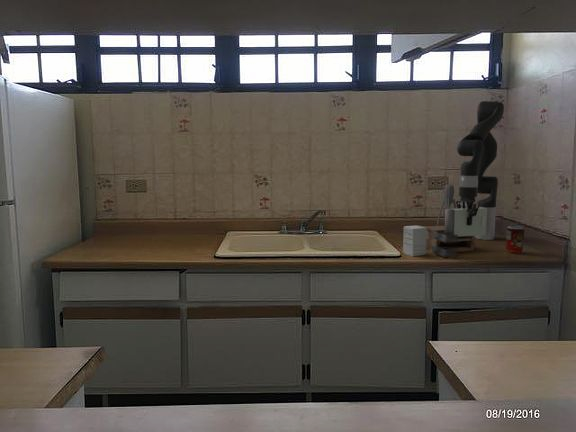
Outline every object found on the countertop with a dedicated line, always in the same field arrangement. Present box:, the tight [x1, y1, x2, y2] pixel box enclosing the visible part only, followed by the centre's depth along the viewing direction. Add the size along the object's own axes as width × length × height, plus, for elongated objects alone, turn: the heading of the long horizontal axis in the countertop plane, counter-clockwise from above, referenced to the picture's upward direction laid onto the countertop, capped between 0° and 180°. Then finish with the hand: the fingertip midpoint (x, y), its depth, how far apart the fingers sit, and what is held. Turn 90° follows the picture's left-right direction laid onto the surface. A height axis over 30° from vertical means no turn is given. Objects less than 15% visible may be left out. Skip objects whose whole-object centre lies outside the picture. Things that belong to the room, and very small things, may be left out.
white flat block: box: [444, 208, 487, 237], centre depth 198 cm, size 4×20×12 cm, turn 105°
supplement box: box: [402, 225, 427, 257], centre depth 201 cm, size 7×7×13 cm
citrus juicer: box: [436, 183, 457, 226], centre depth 225 cm, size 11×10×30 cm
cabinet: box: [424, 225, 476, 258], centre depth 206 cm, size 21×22×10 cm
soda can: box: [505, 224, 525, 255], centre depth 204 cm, size 7×7×12 cm
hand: (466, 224), depth 198 cm, fingers closed on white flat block, 3 cm apart
